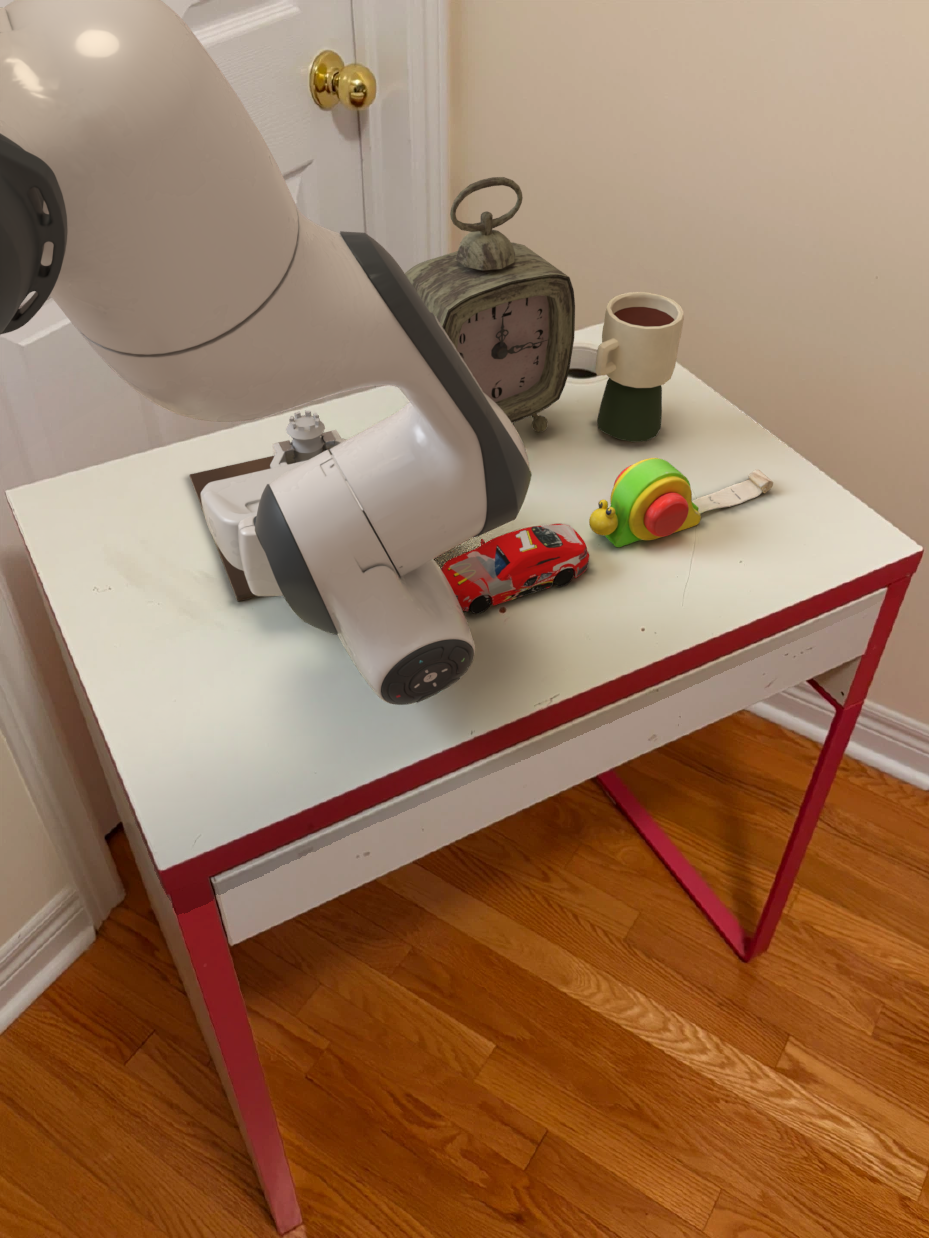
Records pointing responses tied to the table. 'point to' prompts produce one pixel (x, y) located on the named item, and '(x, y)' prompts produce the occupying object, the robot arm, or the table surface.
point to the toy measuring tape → (662, 502)
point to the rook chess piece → (306, 435)
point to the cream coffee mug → (637, 362)
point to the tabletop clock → (503, 312)
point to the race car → (516, 565)
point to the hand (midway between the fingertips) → (304, 443)
